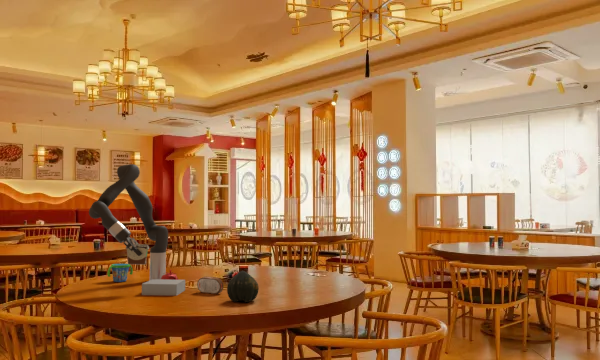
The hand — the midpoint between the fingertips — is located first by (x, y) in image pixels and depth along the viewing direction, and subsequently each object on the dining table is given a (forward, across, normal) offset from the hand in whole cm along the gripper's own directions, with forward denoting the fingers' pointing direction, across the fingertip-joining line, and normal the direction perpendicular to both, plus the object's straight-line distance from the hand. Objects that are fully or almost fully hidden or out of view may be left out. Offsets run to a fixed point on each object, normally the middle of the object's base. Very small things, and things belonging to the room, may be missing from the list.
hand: (142, 254), depth 268 cm
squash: (+52, -28, -24) cm, 63 cm away
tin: (+40, -5, -11) cm, 41 cm away
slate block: (+23, -1, +6) cm, 23 cm away
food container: (+3, 0, +5) cm, 5 cm away
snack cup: (0, +39, +29) cm, 49 cm away
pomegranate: (+22, +19, +6) cm, 30 cm away
